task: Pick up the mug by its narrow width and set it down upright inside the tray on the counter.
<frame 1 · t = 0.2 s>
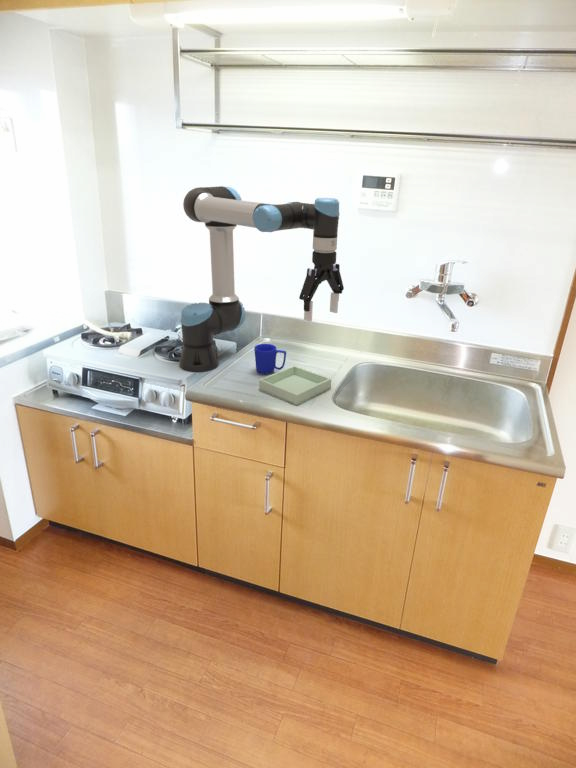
hand: (321, 316, 167), 27 cm above the counter, fingers open, 13 cm apart
tray: (295, 389, 179), on the counter
mug: (270, 372, 193), on the counter
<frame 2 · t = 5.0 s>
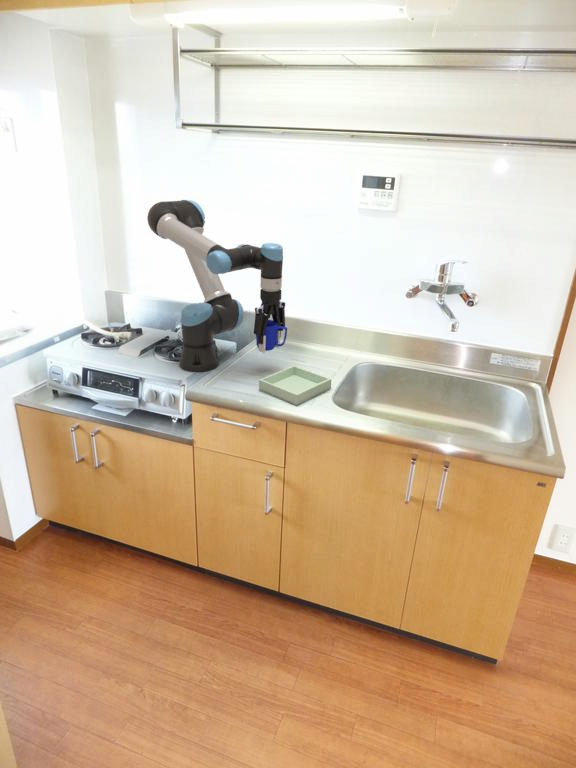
hand: (269, 348, 189), 9 cm above the counter, fingers closed on mug, 7 cm apart
mug: (270, 349, 190), point 9 cm above the counter, touching gripper
when the fingers open (2 cm above the counter, at t = 9.6 s): mug drops 1 cm, resting on tray.
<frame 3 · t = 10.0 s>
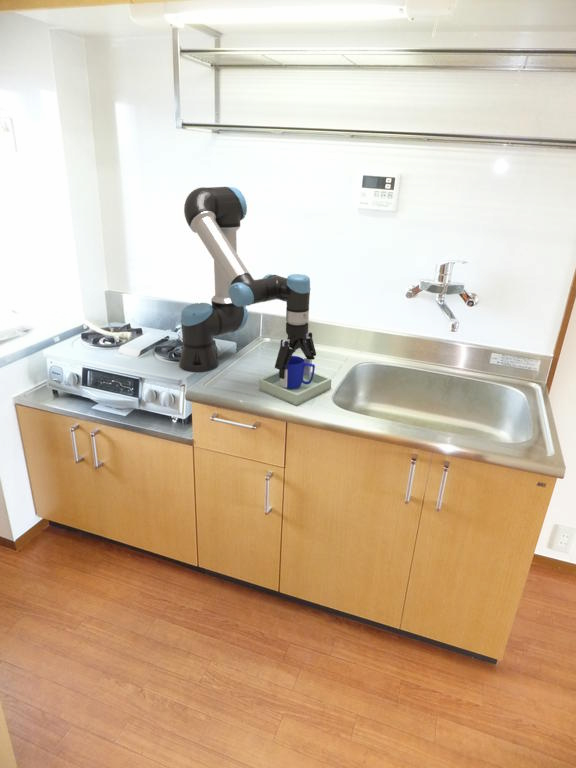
hand: (295, 381, 177), 3 cm above the counter, fingers open, 12 cm apart
mug: (297, 387, 179), point 1 cm above the counter, touching tray
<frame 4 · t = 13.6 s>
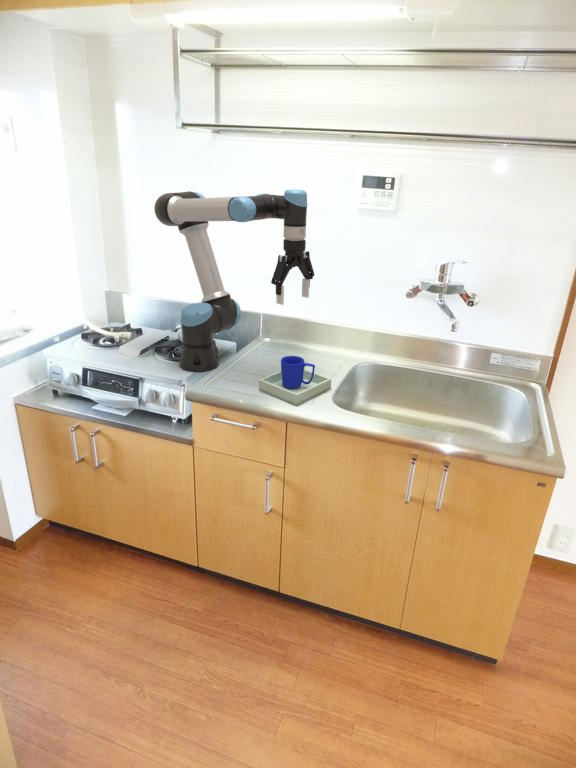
hand: (292, 300, 179), 29 cm above the counter, fingers open, 13 cm apart
nothing on the counter moved.
at the end: mug inside the target area on the tray (1.0 cm from its centre), point 0.6 cm above the tray's base; mug tilted 0°; mug touching tray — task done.
